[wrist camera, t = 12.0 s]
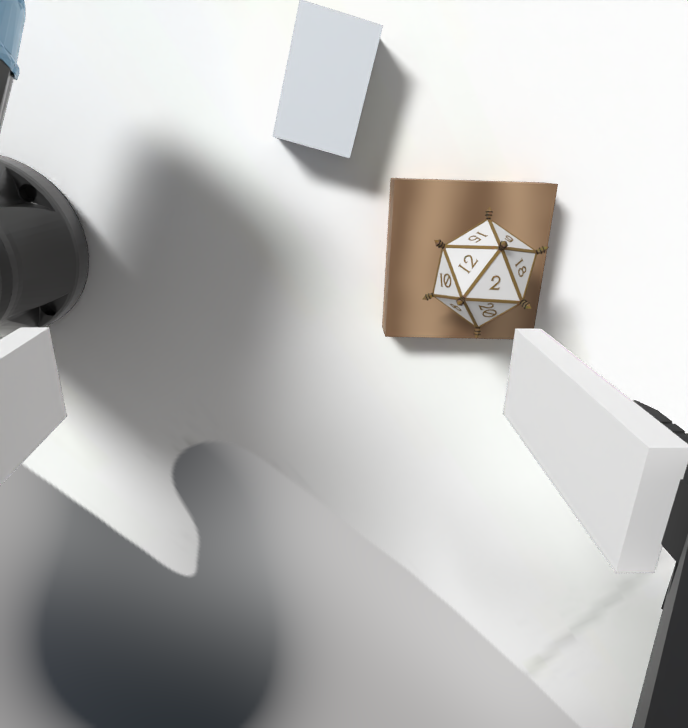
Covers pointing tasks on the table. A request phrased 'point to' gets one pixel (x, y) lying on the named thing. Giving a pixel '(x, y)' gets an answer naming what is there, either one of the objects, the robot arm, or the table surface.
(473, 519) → the table surface
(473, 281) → the game die
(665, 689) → the robot arm
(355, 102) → the card box
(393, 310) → the plinth
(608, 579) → the table surface
